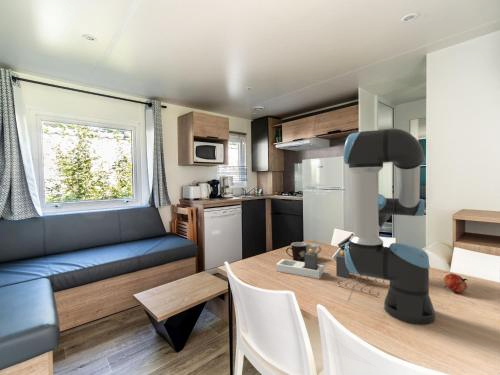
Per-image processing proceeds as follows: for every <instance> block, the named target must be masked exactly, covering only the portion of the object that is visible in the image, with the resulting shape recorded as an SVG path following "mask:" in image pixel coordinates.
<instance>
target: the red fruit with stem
mask: <svg viewBox="0 0 500 375" xmlns="http://www.w3.org/2000/svg"><path fill="white" fill-rule="evenodd" d="M443 281H444V282H445V286H444V288H448V289H449V291H450V292H452V293H455V292H457V293H458V294H459V293H462V292H464V291H466V289H467V288H468V284H467V282H466V281H468V279H467V278H463V277H462V276H460V275H458V274H454V273H449V274H446V275H445V276H444V277H443ZM457 293H456V294H457Z"/></svg>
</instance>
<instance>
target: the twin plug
mask: <svg viewBox="0 0 500 375" xmlns="http://www.w3.org/2000/svg"><path fill="white" fill-rule="evenodd" d="M304 255H305V268H306V269H312V270H317V269H318V263H319V262H318V257H319V256H318V254H317V253H316V251H315V252H313V249H309V252H307V253H305V254H304Z"/></svg>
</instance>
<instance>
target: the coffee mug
mask: <svg viewBox="0 0 500 375" xmlns="http://www.w3.org/2000/svg"><path fill="white" fill-rule="evenodd" d="M307 244H308V243H305V242H301V241H296V242H292V243H291V244H290V246H289V247H287V248H286V251H285V252H286V254H287V255H288V256H290V257H291V258H292V260H293V261H299V262H305V255H304V254H305V253H306V245H307ZM289 249H290V250H291V253H292V255H291V254H290V253H288V250H289Z"/></svg>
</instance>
